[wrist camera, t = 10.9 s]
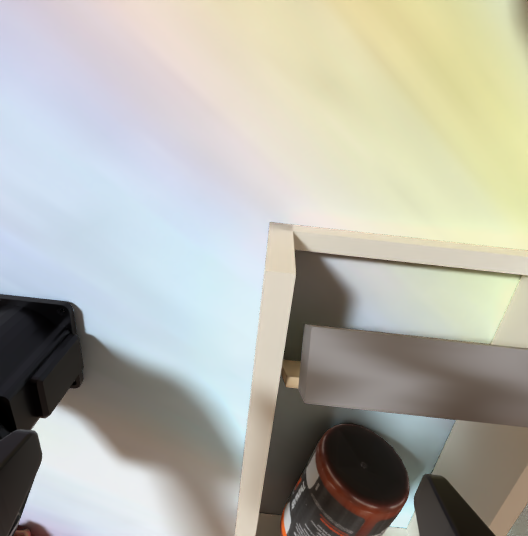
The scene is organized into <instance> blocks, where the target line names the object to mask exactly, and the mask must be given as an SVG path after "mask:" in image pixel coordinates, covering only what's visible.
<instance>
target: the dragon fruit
mask: <svg viewBox="0 0 528 536" xmlns="http://www.w3.org/2000/svg"><path fill="white" fill-rule="evenodd" d="M30 534H31V533H30V530H29V529H24V530H16V531H15V534H14V536H30Z"/></svg>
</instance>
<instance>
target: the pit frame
mask: <svg viewBox="0 0 528 536" xmlns="http://www.w3.org/2000/svg"><path fill="white" fill-rule="evenodd" d="M294 250H301V251H311V252H320V253H329V254H338V255H347V256H356V257H365V258H374V259H383V260H392V261H401V262H410V263H420V264H429V265H438V266H447V267H456V268H465V269H474V270H483V271H492V272H501V273H510V274H519V275H522V276H521V278H520V281H519V283H518V285H517V287H516V289H515V292H514V294H513V296H512V298H511V300H510V303H509V305H508V307H507V309H506V311H505V314H504V316H503V318H502V320H501V322H500V325H499V327H498V329H497V331H496V333H495V336H494V338H493V340H492V342H491V344H492V345H502V346H511V347H520V348H528V250H519V249H510V248H501V247H492V246H483V245H474V244H465V243H456V242H446V241H437V240H428V239H419V238H410V237H401V236H392V235H383V234H374V233H365V232H356V231H347V230H338V229H329V228H320V227H311V226H302V225H292V224H283V223H274V222H270V225H269V234H268V242H267V251H266V260H265V269H264V278H263V287H262V296H261V304H260V313H259V322H258V331H257V340H256V349H255V358H254V367H253V375H252V384H251V393H250V402H249V411H248V420H247V429H246V437H245V446H244V455H243V464H242V473H241V482H240V491H239V500H238V508H237V517H236V527H235V536H281V532H280V521H281V516H282V515H274V514H265V513H259V509H260V503H261V497H262V490H263V484H264V477H265V471H266V464H267V458H268V452H269V445H270V439H271V432H272V426H273V419H274V413H275V406H276V400H277V394H278V387H279V381H280V374H281V368H282V361H283V355H284V349H285V342H286V336H287V329H288V323H289V316H290V310H291V303H292V297H293V291H294V284H295V278H296V266H295V253H294ZM432 474H434V475H441V476H443V477H445V478H446V479H447V480H448V481H449V483H450V484H451V485H452V486H453V487H454V488H455V489H456V491H457V492H458V493H459V494H460V495H461V496H462V497H463V499H464V500H465V501H466V502H467V503H468V504H469V505H470V507H471V508H472V509H473V510H474V511H475V512H476V513H477V515H478V516H479V517H480V518H481V519H482V520H483V522H484V523H485V524H486V525H487V526H488V527H489V528H490V530H491V531H492V532H493V533H494V534H495V535H496V536H506V535H507V533H508V532H509V530H510V529H511V527H512V526H513V524H514V523H515V521H516V520H517V518H518V517H519V515H520V514H521V512H522V511H523V509H524V508H525V506H526V505H527V503H528V428H527V427H518V426H509V425H499V424H490V423H481V422H472V421H462V420H456V421H455V423H454V426H453V428H452V430H451V432H450V434H449V437H448V439H447V441H446V443H445V445H444V448H443V450H442V452H441V454H440V456H439V459H438V461H437V463H436V465H435V467H434V470H433V472H432ZM382 536H419V530H418V525H417V519H416V513H415V511H414V513H413V516H412V518H411V520H410V522H409V524H408V527H407V529H405V528H396V527H388V528H387V530H386V531H385V532H384V534H383V535H382Z"/></svg>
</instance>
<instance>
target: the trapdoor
mask: <svg viewBox="0 0 528 536" xmlns="http://www.w3.org/2000/svg"><path fill="white" fill-rule="evenodd" d="M281 374H282V377H283V380H284V383H285V386H286V387H289V388H298V391H299V393H300V395H301V397H302V399H303V401H304V403H306V404H315V405H324V406H333V407H342V408H352V409H361V410H370V411H379V412H389V413H398V414H407V415H416V416H426V417H435V418H444V419H453V420H462V421H472V422H481V423H490V424H499V425H509V426H518V427H527V428H528V348H520V347H511V346H502V345H492V344H483V343H474V342H465V341H456V340H447V339H437V338H428V337H419V336H410V335H401V334H392V333H383V332H373V331H364V330H355V329H346V328H337V327H328V326H318V325H309V324H304V333H303V343H302V354H301V361H293V360H284V359H283V361H282V368H281Z"/></svg>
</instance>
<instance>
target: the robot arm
mask: <svg viewBox="0 0 528 536" xmlns="http://www.w3.org/2000/svg"><path fill="white" fill-rule="evenodd" d="M61 308H62V309H64V310H65V312H64V311H62V310H61ZM82 369H83V361H82V354H81V347H80V340H79V337H78V335H77V333H76V326H75V319H74V312H73V308H72V306H71V305H70V304H69V303H68V302H65V301H57V300H48V299H39V298H30V297H21V296H12V295H2V294H0V536H14V534H15V531H16V529H17V526H18V524H19V521H20V518H21V515H22V512H23V509H24V507H25V504H26V501H27V498H28V495H29V493H30V490H31V487H32V484H33V481H34V479H35V476H36V473H37V471H38V469H39V466H40V464H41V461H42V451H41V447H40V443H39V438H38V434H37V433H36V432H35V431H32V430H31V429H32V428H33V426H34V425H35V424H36V422H37V421H38V420H39V418H47V417H48V416H49V415H50V414H51V413H52V412H53V410H54V409H55V407H56V406H57V405H58V403H59V402H60V400H61V399H62V398H63V396H64V395H65V393H66V392H67V390H68V389H69V388H78V387H79V386H80V385H81V384H82V382H83V373H82ZM414 507H415V513H416V519H417V525H418V530H419V536H496V535H495V534H494V533H493V532H492V531H491V530H490V528H489V527H488V526H487V525H486V524H485V523H484V522H483V520H482V519H481V518H480V517H479V516H478V515H477V513H476V512H475V511H474V510H473V509H472V508H471V507H470V505H469V504H468V503H467V502H466V501H465V500H464V499H463V497H462V496H461V495H460V494H459V493H458V492H457V491H456V489H455V488H454V487H453V486H452V485H451V484H450V483H449V481H448V480H447V479H446V478H445V477H443V476H441V475H434V474H425V475H424V476H423V477H422V480H421V482H420V484H419V486H418V489H417V491H416V493H415V496H414Z"/></svg>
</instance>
